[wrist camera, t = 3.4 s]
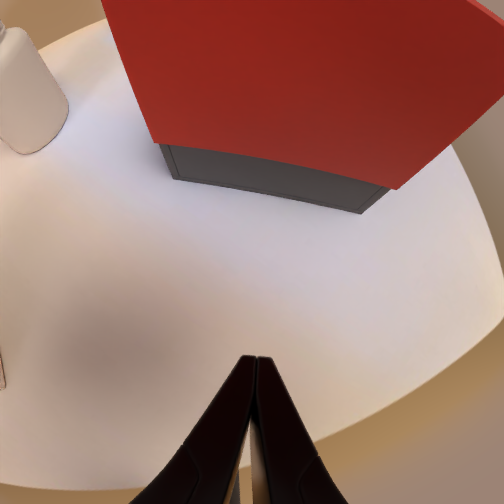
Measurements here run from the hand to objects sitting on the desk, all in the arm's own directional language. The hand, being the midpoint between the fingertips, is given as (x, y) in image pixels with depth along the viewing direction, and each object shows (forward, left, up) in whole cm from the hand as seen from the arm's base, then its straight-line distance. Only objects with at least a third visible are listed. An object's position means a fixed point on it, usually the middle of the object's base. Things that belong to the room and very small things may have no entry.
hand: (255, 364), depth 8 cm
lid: (+8, -7, 0) cm, 11 cm away
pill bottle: (+28, +9, -13) cm, 32 cm away
